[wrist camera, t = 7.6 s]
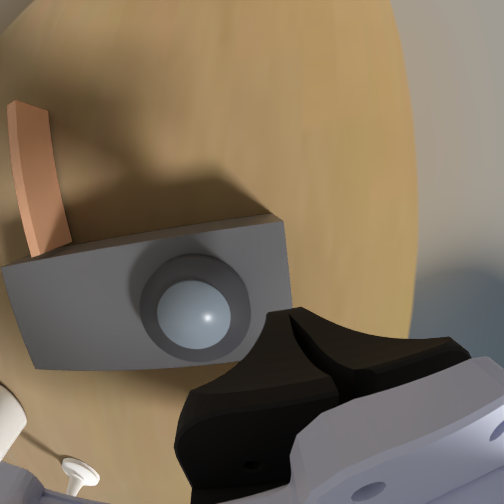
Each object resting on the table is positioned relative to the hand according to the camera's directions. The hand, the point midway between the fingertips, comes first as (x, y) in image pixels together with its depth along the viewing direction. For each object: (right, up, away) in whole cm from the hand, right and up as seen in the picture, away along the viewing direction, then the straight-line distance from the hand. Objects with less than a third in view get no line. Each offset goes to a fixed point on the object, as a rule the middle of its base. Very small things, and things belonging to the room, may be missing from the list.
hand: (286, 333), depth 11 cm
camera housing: (-8, +1, +9) cm, 12 cm away
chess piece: (-21, -23, +13) cm, 34 cm away
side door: (-16, +8, +7) cm, 19 cm away
